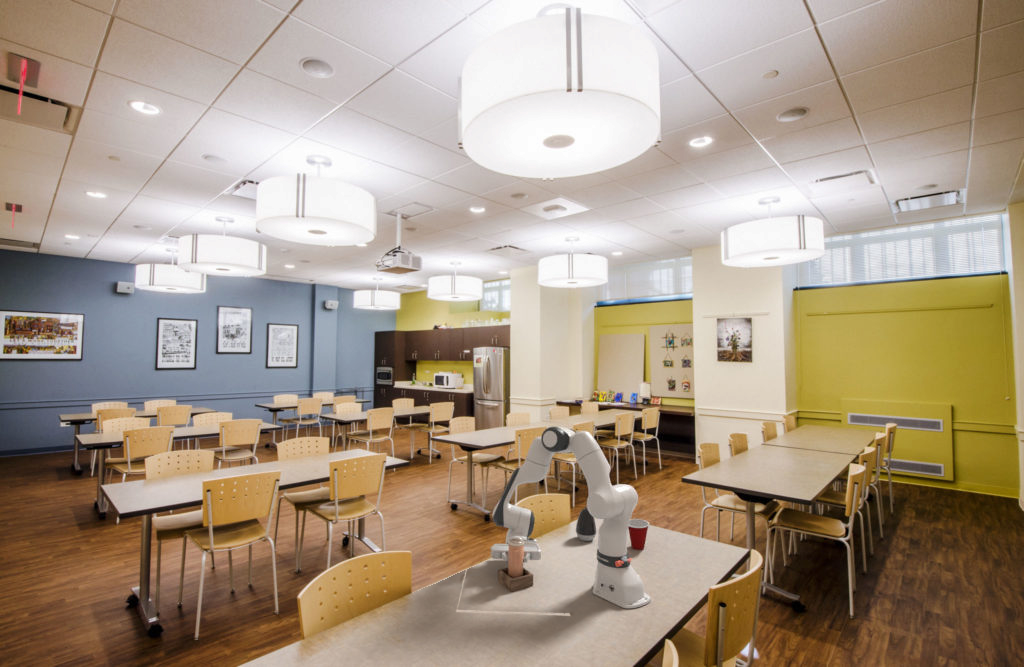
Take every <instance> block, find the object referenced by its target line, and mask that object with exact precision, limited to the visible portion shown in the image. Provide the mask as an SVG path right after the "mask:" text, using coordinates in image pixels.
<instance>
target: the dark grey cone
mask: <svg viewBox="0 0 1024 667" xmlns="http://www.w3.org/2000/svg"><path fill="white" fill-rule="evenodd" d="M580 510H581V511H580V512H579V515H578V516H577V521H576V526H575V533H576V536H577V538H578V539H579V540H581V541H583V542H590V541H593V540H594V539H595V537H596V535H597V525H596V524H597V523H596V520H595V519H596V518H594V517H593V516H592V515H591V514H590V513H589V511H588V508H587V506H585V507H584V508H582V509H580Z"/></svg>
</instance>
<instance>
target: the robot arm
mask: <svg viewBox="0 0 1024 667" xmlns="http://www.w3.org/2000/svg"><path fill="white" fill-rule="evenodd" d="M555 454H573V456H574V457H575V459H576V461H577V463H578V465H579V467H580V470H581V471H582V473H583V476H584V479H585V480H586V484H587V489H588V490H587V491H588V496H587V499H586V507H587V508H588V511H589V513H590V514H591V515H592V516H593V517H594V519H597V520H603V521H602V523H601V524H600V526H599V528H598V530H597V531H598V533H597V534H598V538H597V543H598V544H597V550H596V560H597V564H596V570H595V577H594V581H593V585H592V587H593V589H592V593H593V595H596V596H597V597H599V598H601V599H604V600H606V601H608V602H610V603H612V604H614V605H616V606H618V607H620V608H623V609H636V608H640V607H644V606H646V605H647V604H649V603H650V602H651V596H650V595H649V594H648V593H646V592H645V586H644V582H643V581H642V578H641V576H640V575H639V574H638V573H637V572H636V571H635V569H634V568H633V566H632V565H631V562H632V560H633V558H632V557H631V558H630V557H629V553H628V549H627V548H628V533H629V529H628V527H629V523H630V520H631V519H632V515H633V512H634V510H635V508H636V506H637V505H638V502H639V495H638V492H637V491H636V489H635V488H634V487H633V485H630V484H625V483H623V484H622V483H617V484H615V485H613V484H612V483H611V478H610V473H611V465H610V464H609V461H608V459H607V457H606V456H605V453H604V452H603V450H602V449H601V447H600V445H599V443H598V442H597V440H596V439H595V437H594V436H593V434H591V433H590V432H589V431H586V430H579V431H576V430H574V429H572V428H567V427H564V426H550V427H547V428H546V429H545V430H543V432H542V434H541V436H537V437H535V438H533V440H532V442H531V444H530V447H529V449H528V452H527V454H526V457H525V460H524V462H523V463H522V465H521V466H519V467H516V468H515V469H514V470H513V473H512V474H511V476H510V477H509V480H508V482H507V483H506V486H505V487H504V490H503V491H502V494H501V497H500V498H499V500H498V502H497V503H496V505H495V506H494V508H493V510H492V516H491V518H492V521H493V523H494V525H495V526H496V527H503V528H507V529H508V530H507V532H506V535H505V536H506V537H505V543H494V544H493V545H491V547H490V550H491V551H490V557H491V559H492V560H493V559H494V560H495V559H496V560H504V562H505V563H508V553H509V540H510V539H514V538H518V539H522V540H524V563H528V561H540V560H541V559H542V549H541V547H540V545H539V543H538V541H537V539H536V538H530V536H532V534H533V530H534V527H535V514H534V512H533V511H532V509H528V508H525V507H522V506H521V507H520V506H517V505H514V504H511V503H510V501H511V498H512V496H513V494H514V492H515V490H516V488H518V486H520V485H523V484H531V483H538V482H540V481H542V480H544V479H545V478H546V477H547V475H548V473H549V470H550V467H551V463H552V460H553V457H554V455H555Z"/></svg>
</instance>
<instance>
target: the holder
mask: <svg viewBox="0 0 1024 667" xmlns="http://www.w3.org/2000/svg"><path fill="white" fill-rule="evenodd" d="M497 583H500V584H501V585H502V586H503V587H504V588H506V589H507V590H508V591H509V592H510V593H512V592H516V591H519V590H523V589H528V588H530V587H533V586H534V574H533V573H531V572H530V571H529V570H527V569H526V568H524V567H523V576H521V577H517V578H513V579H512V578H511V577H509V576H508V567H505V568H500V569H498V570H497Z"/></svg>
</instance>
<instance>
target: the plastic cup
mask: <svg viewBox="0 0 1024 667" xmlns="http://www.w3.org/2000/svg"><path fill="white" fill-rule="evenodd" d="M649 526H650V523H649V521H647V520H645V519H640V518H631V519H630V523H629V527H628V533H629V539H630V545H631V549H634V550H639V551H641V550H644V549H645V545H646V541H647V540H646V539H647V536H648V535H647V533H648V529H649Z"/></svg>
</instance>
